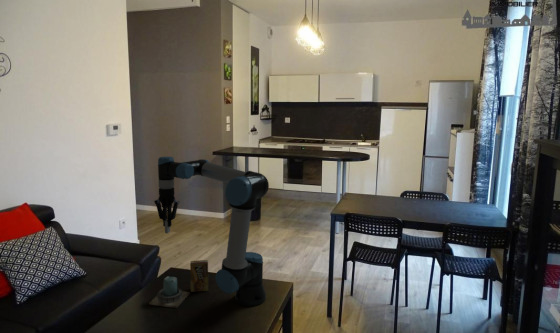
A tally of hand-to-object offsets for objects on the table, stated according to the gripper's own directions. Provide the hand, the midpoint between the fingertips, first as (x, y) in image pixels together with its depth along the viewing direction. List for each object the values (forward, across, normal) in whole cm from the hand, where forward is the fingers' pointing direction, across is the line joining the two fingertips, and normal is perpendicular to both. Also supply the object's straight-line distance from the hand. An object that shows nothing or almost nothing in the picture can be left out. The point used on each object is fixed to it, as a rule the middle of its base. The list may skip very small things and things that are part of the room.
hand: (167, 232), depth 193 cm
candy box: (+30, -17, 0) cm, 34 cm away
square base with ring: (+29, -7, +12) cm, 33 cm away
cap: (+28, -7, +12) cm, 32 cm away
